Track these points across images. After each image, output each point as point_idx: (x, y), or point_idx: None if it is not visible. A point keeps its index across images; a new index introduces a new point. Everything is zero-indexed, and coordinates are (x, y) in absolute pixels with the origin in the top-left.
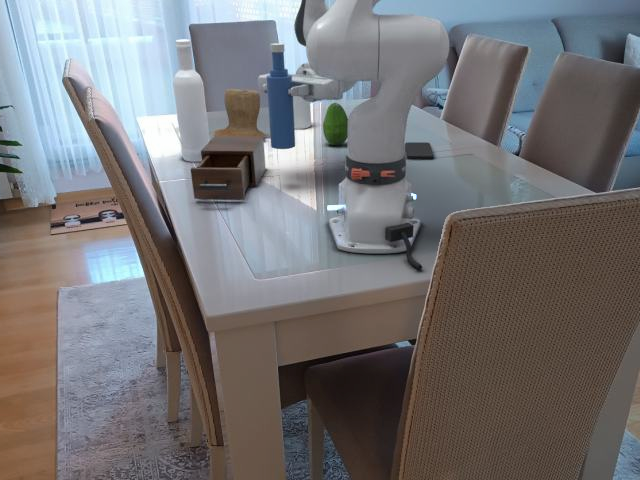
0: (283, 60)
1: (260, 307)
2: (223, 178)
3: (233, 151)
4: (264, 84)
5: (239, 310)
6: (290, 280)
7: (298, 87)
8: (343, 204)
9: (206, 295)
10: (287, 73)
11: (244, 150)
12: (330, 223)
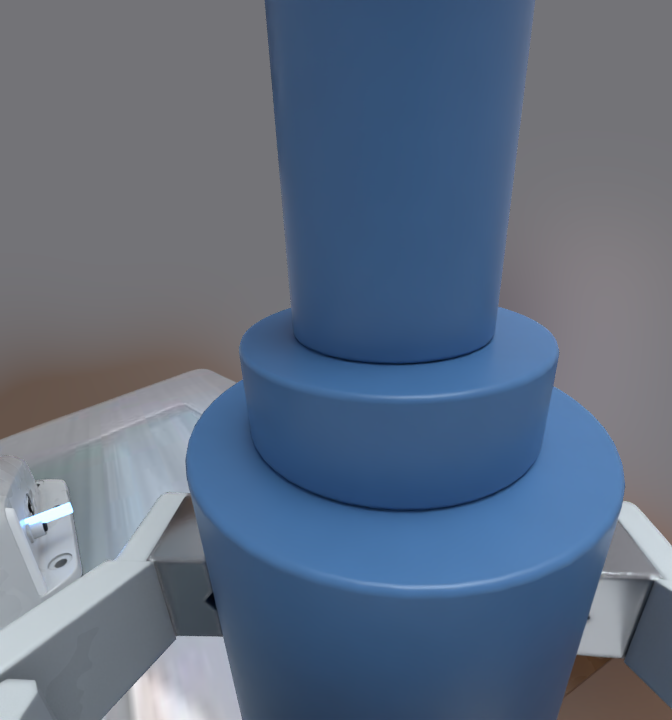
0: (279, 170)
1: (162, 381)
2: None
3: (603, 665)
4: (639, 513)
5: (180, 375)
6: (140, 413)
7: (96, 570)
8: (22, 503)
9: (223, 377)
10: (246, 399)
11: (577, 709)
12: (76, 549)
